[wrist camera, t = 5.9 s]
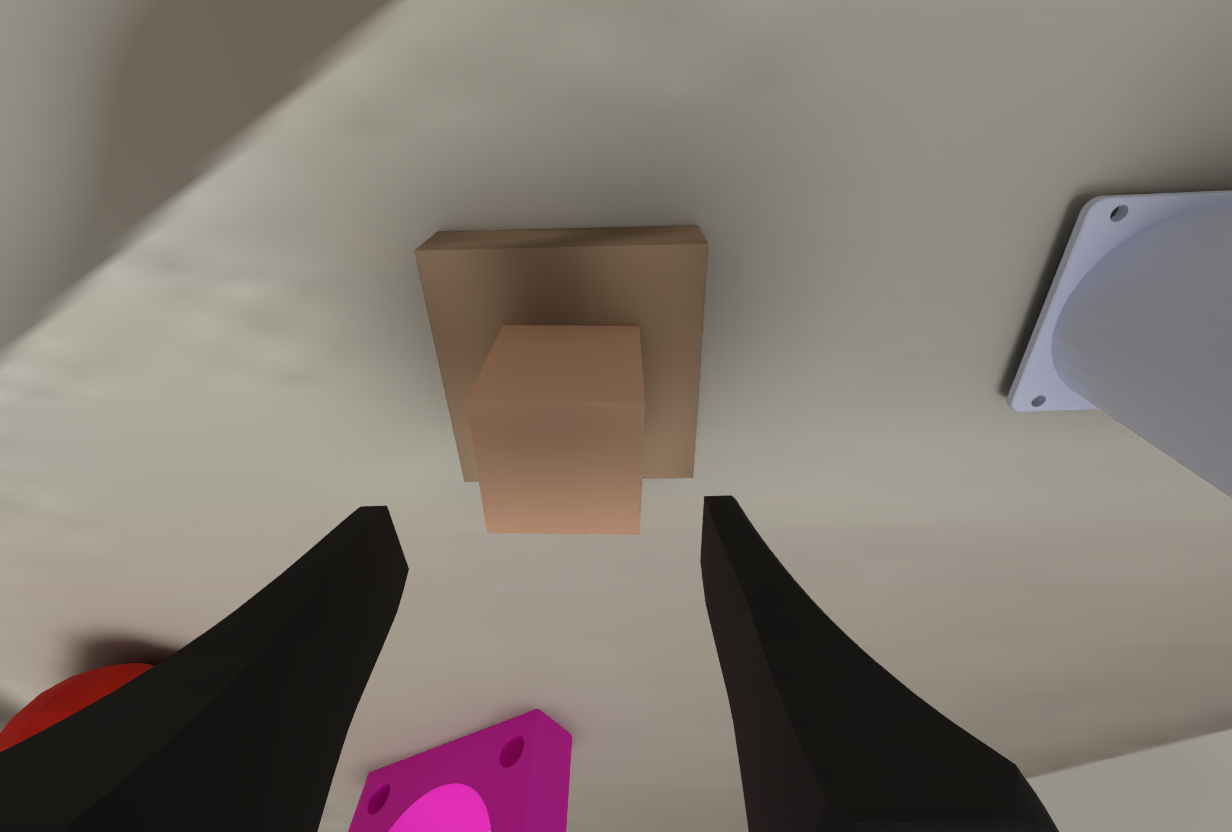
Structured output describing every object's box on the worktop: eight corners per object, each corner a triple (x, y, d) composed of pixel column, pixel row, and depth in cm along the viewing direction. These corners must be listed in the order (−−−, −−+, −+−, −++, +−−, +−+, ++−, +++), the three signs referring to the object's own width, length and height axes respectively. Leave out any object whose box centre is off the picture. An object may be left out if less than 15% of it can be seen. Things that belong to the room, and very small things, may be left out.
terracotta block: (639, 326, 18) (645, 403, 14) (635, 439, 20) (639, 534, 16) (503, 325, 18) (465, 401, 14) (515, 437, 20) (487, 532, 16)
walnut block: (695, 222, 19) (707, 243, 16) (684, 435, 24) (693, 477, 21) (441, 228, 19) (414, 250, 17) (480, 439, 24) (464, 481, 21)
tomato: (212, 758, 37) (108, 934, 30) (35, 671, 32) (-148, 857, 24) (317, 711, 34) (231, 893, 27) (141, 606, 29) (-31, 796, 21)
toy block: (430, 804, 41) (397, 936, 35) (369, 770, 39) (321, 906, 32) (593, 748, 37) (588, 887, 31) (538, 705, 34) (521, 847, 28)
